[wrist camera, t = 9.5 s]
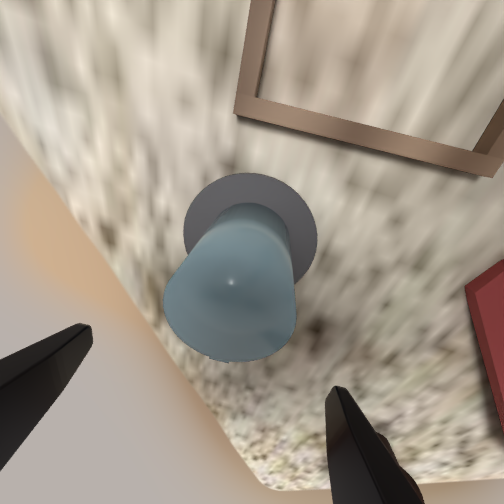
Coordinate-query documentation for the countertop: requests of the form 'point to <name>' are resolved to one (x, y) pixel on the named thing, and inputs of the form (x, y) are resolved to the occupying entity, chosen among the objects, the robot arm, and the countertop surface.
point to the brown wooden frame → (248, 105)
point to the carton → (490, 326)
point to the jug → (235, 287)
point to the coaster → (259, 192)
